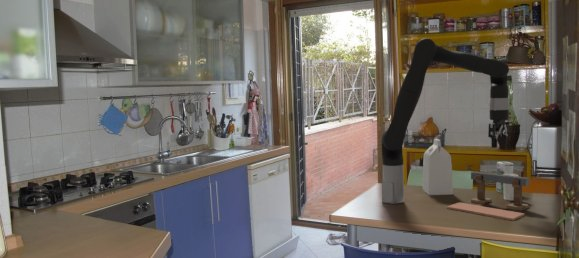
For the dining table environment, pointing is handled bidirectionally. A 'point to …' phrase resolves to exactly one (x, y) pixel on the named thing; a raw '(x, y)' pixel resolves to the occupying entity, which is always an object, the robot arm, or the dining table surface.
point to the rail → (500, 178)
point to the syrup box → (503, 169)
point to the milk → (437, 170)
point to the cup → (508, 189)
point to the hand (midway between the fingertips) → (499, 146)
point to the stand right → (517, 197)
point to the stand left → (480, 192)
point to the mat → (486, 211)
